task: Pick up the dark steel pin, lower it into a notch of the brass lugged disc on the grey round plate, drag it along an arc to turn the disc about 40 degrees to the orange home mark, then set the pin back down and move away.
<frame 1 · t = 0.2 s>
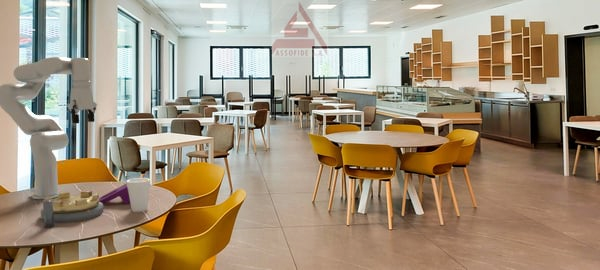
hand: (83, 122, 205), 37 cm above the table, tool pointing down, fingers open, 9 cm apart
grey round plate: (73, 214, 185), on the table
brass lugged disc: (72, 201, 184), point 6 cm above the table, hinge at 0.0°
foam cup: (139, 210, 192), on the table
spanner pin: (49, 226, 168), on the table
mounting bracket: (118, 203, 204), on the table
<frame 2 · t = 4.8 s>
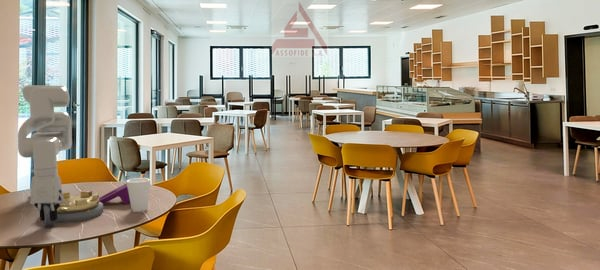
hand: (48, 219, 168), 3 cm above the table, tool pointing down, fingers closed on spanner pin, 3 cm apart
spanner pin: (49, 226, 168), on the table, touching gripper
everything else where it was.
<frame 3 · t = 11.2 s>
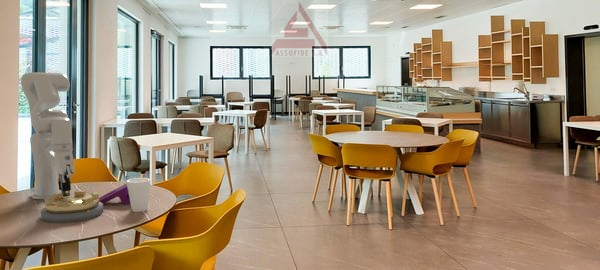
hand: (64, 189, 190), 9 cm above the table, tool pointing down, fingers closed on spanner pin, 3 cm apart
brass lugged disc: (72, 201, 184), point 6 cm above the table, hinge at 18.0°, touching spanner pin
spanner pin: (66, 195, 191), point 6 cm above the table, touching gripper, brass lugged disc
everything else where it was.
when the fingers open (4 cm above the table, at t = 18.0 s): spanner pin drops 1 cm, on the table.
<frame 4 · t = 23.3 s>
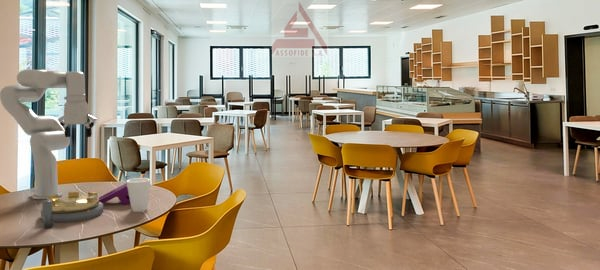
hand: (78, 136, 202), 30 cm above the table, tool pointing down, fingers open, 9 cm apart
brass lugged disc: (72, 201, 184), point 6 cm above the table, hinge at 34.4°
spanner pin: (48, 227, 168), on the table
everything else where it was.
at the end: brass lugged disc at +34° (first picture: +0°); the gripper is holding nothing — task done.
